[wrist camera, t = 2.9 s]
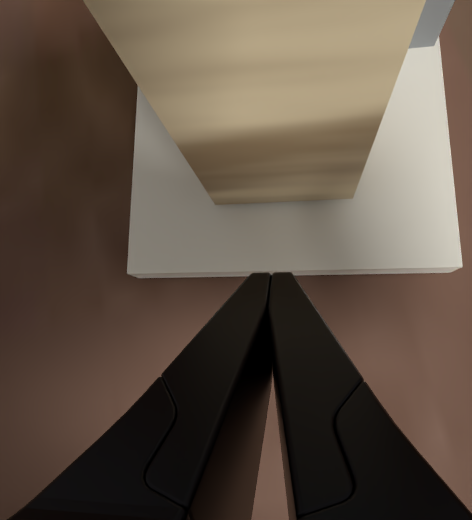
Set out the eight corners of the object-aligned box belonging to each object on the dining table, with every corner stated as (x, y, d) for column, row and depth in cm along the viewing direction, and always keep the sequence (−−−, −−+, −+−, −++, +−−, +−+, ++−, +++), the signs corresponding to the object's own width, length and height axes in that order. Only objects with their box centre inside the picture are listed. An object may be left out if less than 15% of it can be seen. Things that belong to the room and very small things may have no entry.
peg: (353, 198, 14) (508, -214, 4) (214, 205, 15) (3, -117, 4) (346, 72, 15) (453, -551, 5) (216, 84, 16) (47, -422, 5)
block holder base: (449, 272, 15) (510, 246, 10) (139, 278, 17) (82, 257, 12) (419, -37, 17) (458, -160, 13) (153, -2, 19) (111, -100, 15)
